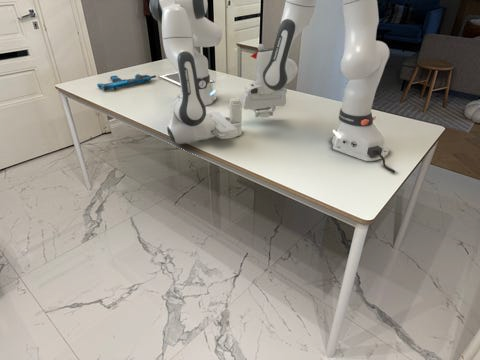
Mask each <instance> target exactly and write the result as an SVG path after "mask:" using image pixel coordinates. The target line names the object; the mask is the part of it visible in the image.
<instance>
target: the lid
mask: <svg viewBox="0 0 480 360" xmlns="http://www.w3.org/2000/svg"><path fill="white" fill-rule="evenodd" d="M270 111H271V110H268V109H258V110H257V112H258V113H259V117H258V118H262V119H263V118H264V119H265V118H269V117H271V116H270Z"/></svg>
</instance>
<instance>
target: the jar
mask: <svg viewBox="0 0 480 360" xmlns="http://www.w3.org/2000/svg"><path fill="white" fill-rule="evenodd" d="M228 104H229V105H228V106H229V107H228V108H229V109H228V110H229V117H230V123H231V124H234V125H235V124H236V123H237V122H240V123H241V124H242V123H243V121H242V115H243V113H242V112H243V111H242V108H243V106H242V100H241V98H239V97H232V98H230V101H229V103H228ZM242 126H243V124H242ZM242 126H241V127H239V128H237V136H236V137H240V136H242V132H243V131H242V130H243V129H242V128H243V127H242Z"/></svg>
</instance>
